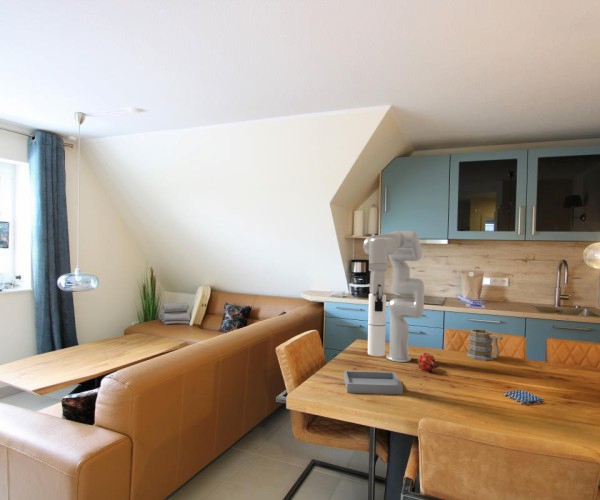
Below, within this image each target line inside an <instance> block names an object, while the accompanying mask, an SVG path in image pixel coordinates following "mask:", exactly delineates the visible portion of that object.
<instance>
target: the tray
mask: <svg viewBox="0 0 600 500" xmlns="http://www.w3.org/2000/svg"><path fill="white" fill-rule="evenodd" d="M343 380H344V385H345V388H346V393H350V394H351V393H352V394H353V393H354V394H355V393H356V394H357V393H358V394H382V395H383V394H384V395H386V394H387V395H389V394H390V395H403V391H404V390H403V388H404V387H403V386H404V385H403V383H402V382H401V381H400V379H399V378H398V375H396V373H395V372H394V371H373V370H372V371H371V370H369V371H367V370H365V371H364V370H343Z"/></svg>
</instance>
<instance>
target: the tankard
mask: <svg viewBox="0 0 600 500" xmlns="http://www.w3.org/2000/svg"><path fill="white" fill-rule="evenodd" d="M492 334H493V333H492V331H491V330H487V329H482V328H479V329H478V328H474V329H470V333H469V335H468V340H469V343H468V349H469V350H467V356H466V357H468V358H471V359H473V360H479V361H484V360H486V361H493V360H494V359H497V358H498V357H499V354H500V348H499V344H498V340H499V341H502V340H503V339H504V337H503V336H502V335H501V334H500V333H497V334H493V335H492ZM493 349H494V350H493ZM493 351H494V352H493ZM492 352H493V353H492Z"/></svg>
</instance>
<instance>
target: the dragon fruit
mask: <svg viewBox="0 0 600 500" xmlns="http://www.w3.org/2000/svg"><path fill="white" fill-rule="evenodd" d="M417 362H418V368H419V369H422V370H423V371H424V372H425V373H429V371H434V370H435V369H436V368H437V369H438V368H439V365H440V364H438V363H437V361H436V359H435V356H434V355H431V354H430V353H428V352H423V353H422V354H420V355H419V357H418V358H417Z"/></svg>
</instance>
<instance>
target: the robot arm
mask: <svg viewBox="0 0 600 500" xmlns="http://www.w3.org/2000/svg"><path fill="white" fill-rule="evenodd" d="M421 245H422V244H421V240H420V237H419V235H418V234H417V233H416V231H413V230H393V231H392V232H388V233H382V234H378V235H377V234H376V235H371V236H368V237H366V238H365V239H364V240H363V245H362V246H363V247H362V249H363V251H364V252H365V254H366V255H368V271H369V272H370V278H369V294H372V295H374V294H375V299H376V301H375V311H380V312H382V311H383V297H382V295H384V294H385V288H386V287H385V282H386V281H385V280H386V279H385V272H387V271H388V258H389V261H390V263H391V266H392V271H393V272H392V293H393V294H394V295H395V296H400V297H412V298H413V299H410V298H399V297H398V298H397V297H396V298H392V299H390V300H389V302H388V313H389V344H388V345H389V348H388V351H389V353H387V354H385V355H386V356H385V359H387V361H392V362H396V363H397V362H398V363H407V362H410V361H411V360H412V357H411V356H410V355H409V332H410V330H409V323H408V322H407V320H406V318H408V319H421V318H422V317H423V315H424V310H425V309H424V306H425V304H424V303H425V285H424V281H423V280H422V279H421V278H415V277H410V275H411V273H410V272H411V268H410V266H409V265H408V263H407V262H418V261H420V260H421V259H422V256H423V250H422V246H421ZM377 296H378V297H377Z"/></svg>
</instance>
